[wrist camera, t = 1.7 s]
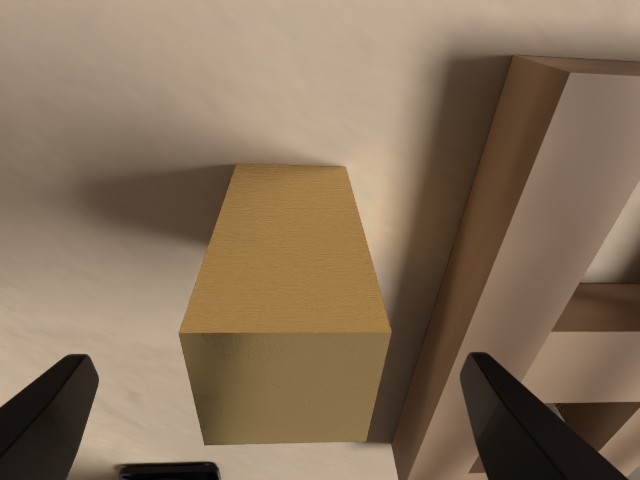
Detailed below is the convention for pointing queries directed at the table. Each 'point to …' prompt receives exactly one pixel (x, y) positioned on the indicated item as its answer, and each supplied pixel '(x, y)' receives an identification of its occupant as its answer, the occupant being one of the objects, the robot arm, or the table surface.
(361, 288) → the peg
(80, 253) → the table surface
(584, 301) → the plate
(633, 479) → the flask
